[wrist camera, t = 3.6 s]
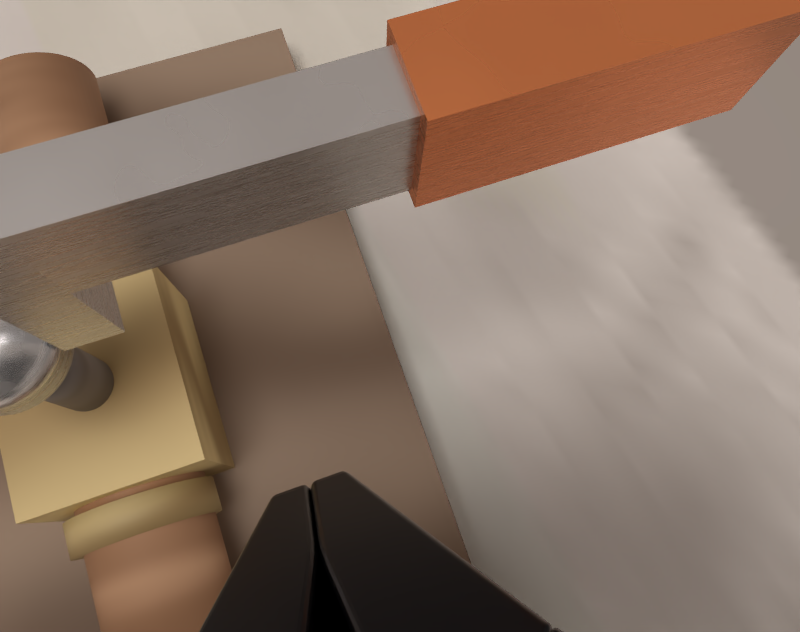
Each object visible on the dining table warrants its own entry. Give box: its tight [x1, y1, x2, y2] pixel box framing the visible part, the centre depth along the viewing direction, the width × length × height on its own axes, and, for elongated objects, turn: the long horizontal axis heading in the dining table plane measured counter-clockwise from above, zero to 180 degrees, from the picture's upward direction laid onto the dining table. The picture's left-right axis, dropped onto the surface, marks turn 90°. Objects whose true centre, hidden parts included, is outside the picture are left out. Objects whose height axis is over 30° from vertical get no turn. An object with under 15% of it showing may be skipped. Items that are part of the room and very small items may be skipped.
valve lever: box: [0, 0, 800, 416], centre depth 10 cm, size 2×13×5 cm, turn 109°
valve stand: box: [0, 29, 471, 632], centre depth 16 cm, size 20×14×8 cm
